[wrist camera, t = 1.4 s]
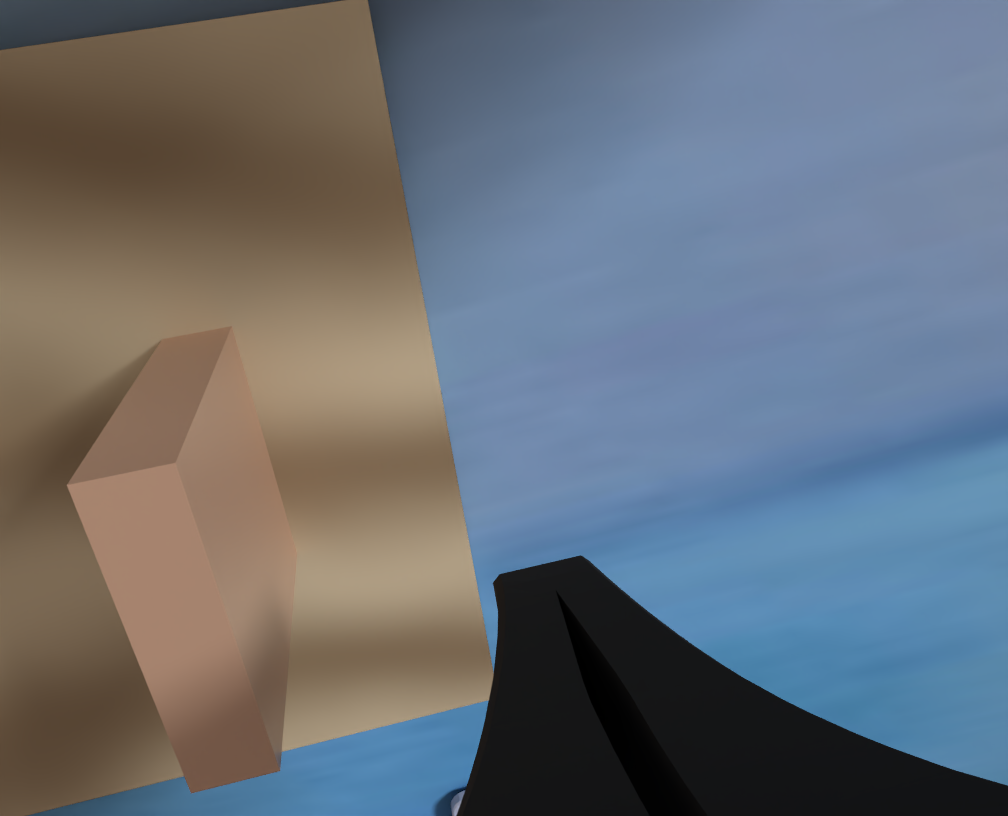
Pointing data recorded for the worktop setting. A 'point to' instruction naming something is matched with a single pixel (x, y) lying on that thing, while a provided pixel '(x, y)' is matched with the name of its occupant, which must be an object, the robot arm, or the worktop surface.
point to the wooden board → (266, 360)
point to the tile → (197, 555)
